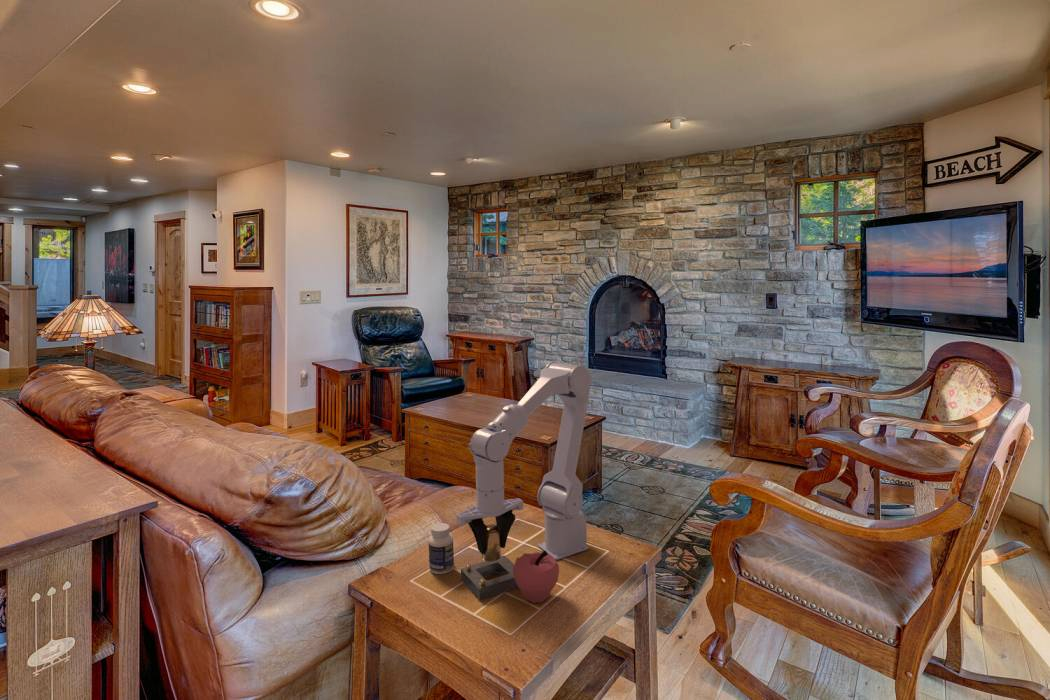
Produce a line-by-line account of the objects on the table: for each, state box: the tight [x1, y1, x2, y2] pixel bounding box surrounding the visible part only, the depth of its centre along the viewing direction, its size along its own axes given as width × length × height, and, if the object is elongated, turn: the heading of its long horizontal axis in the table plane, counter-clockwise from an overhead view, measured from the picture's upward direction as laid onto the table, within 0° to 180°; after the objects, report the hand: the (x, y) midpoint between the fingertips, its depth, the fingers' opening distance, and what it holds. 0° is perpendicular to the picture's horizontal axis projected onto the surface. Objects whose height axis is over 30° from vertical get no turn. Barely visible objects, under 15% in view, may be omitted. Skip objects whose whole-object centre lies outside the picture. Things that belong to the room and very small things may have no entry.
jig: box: [460, 555, 519, 601], centre depth 116 cm, size 11×9×4 cm
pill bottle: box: [428, 522, 455, 575], centre depth 122 cm, size 5×5×10 cm
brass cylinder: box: [481, 523, 502, 562], centre depth 116 cm, size 4×4×6 cm
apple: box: [513, 550, 560, 604], centre depth 110 cm, size 10×9×10 cm
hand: (491, 548), depth 116 cm, fingers closed on brass cylinder, 4 cm apart
